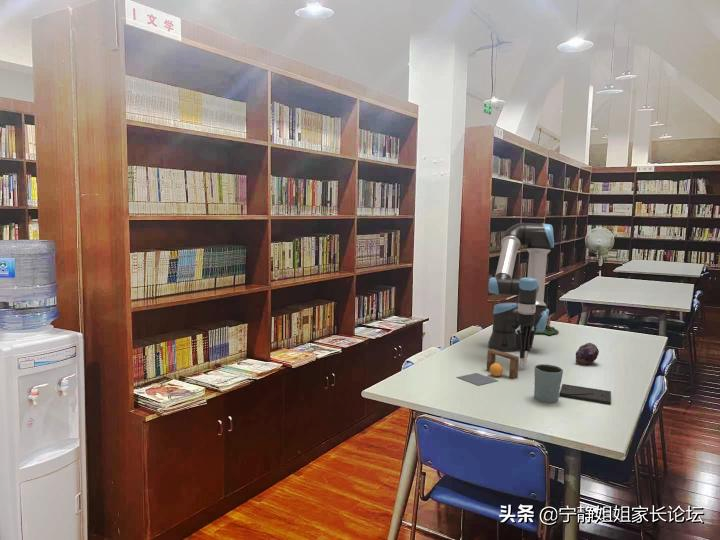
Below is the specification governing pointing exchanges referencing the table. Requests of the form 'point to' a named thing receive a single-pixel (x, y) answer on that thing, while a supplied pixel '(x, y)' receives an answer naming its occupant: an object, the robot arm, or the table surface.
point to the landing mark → (477, 379)
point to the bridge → (513, 359)
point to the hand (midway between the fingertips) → (523, 364)
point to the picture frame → (585, 394)
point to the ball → (496, 369)
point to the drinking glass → (547, 383)
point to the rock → (586, 354)
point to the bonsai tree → (548, 320)
